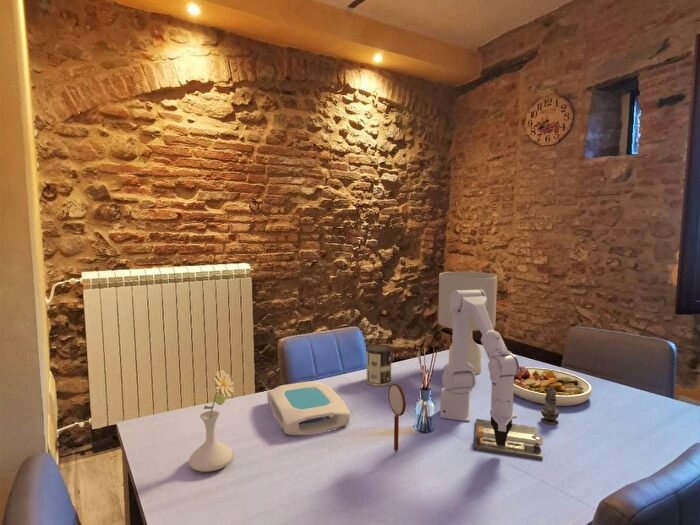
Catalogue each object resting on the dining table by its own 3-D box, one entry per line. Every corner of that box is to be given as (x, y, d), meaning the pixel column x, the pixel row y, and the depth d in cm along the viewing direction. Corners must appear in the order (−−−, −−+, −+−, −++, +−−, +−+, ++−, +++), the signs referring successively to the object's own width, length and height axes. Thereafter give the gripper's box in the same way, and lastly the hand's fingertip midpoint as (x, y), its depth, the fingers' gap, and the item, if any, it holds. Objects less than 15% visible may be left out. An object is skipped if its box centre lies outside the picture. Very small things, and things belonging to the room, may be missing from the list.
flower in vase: (208, 481, 108) (205, 385, 105) (179, 467, 114) (176, 376, 111) (246, 457, 119) (244, 369, 116) (218, 446, 125) (216, 362, 122)
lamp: (484, 384, 173) (488, 279, 169) (428, 372, 186) (430, 275, 182) (499, 367, 193) (503, 273, 189) (448, 358, 206) (450, 270, 202)
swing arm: (477, 437, 126) (477, 431, 126) (477, 432, 129) (477, 425, 129) (543, 447, 120) (543, 440, 120) (541, 441, 124) (542, 434, 124)
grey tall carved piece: (561, 426, 137) (563, 389, 136) (542, 424, 139) (543, 388, 137) (556, 418, 143) (558, 383, 142) (538, 416, 144) (539, 381, 143)
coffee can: (390, 376, 181) (390, 344, 180) (392, 386, 171) (392, 351, 169) (365, 376, 181) (366, 344, 180) (366, 386, 171) (366, 351, 170)
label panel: (474, 449, 123) (474, 442, 123) (476, 421, 140) (476, 416, 140) (542, 460, 118) (542, 453, 118) (535, 429, 135) (535, 424, 135)
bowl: (593, 388, 170) (594, 369, 169) (587, 417, 144) (589, 394, 144) (513, 374, 186) (514, 356, 185) (496, 397, 160) (497, 377, 160)
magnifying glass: (386, 446, 125) (386, 379, 123) (391, 445, 125) (392, 378, 124) (401, 461, 117) (402, 390, 115) (406, 460, 117) (407, 389, 116)
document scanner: (286, 440, 129) (286, 420, 128) (267, 403, 155) (266, 387, 154) (351, 427, 137) (351, 408, 136) (322, 394, 163) (322, 378, 162)
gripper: (519, 410, 111) (517, 460, 112) (516, 389, 125) (514, 434, 126) (490, 406, 113) (488, 455, 115) (490, 386, 127) (488, 430, 128)
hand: (500, 444), depth 120 cm, fingers closed
